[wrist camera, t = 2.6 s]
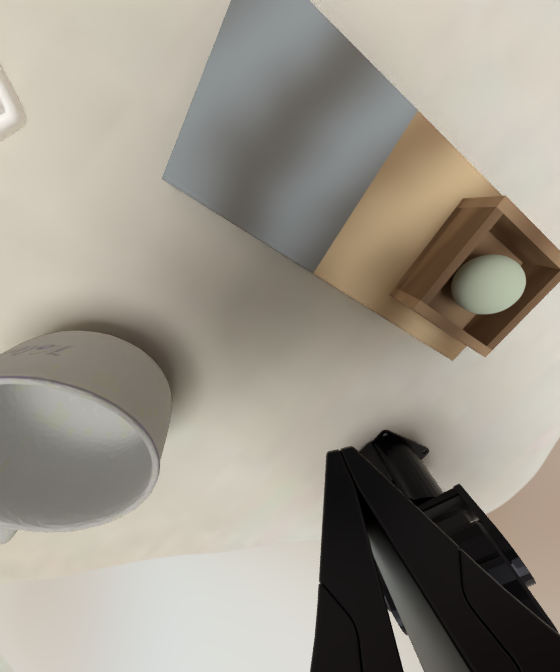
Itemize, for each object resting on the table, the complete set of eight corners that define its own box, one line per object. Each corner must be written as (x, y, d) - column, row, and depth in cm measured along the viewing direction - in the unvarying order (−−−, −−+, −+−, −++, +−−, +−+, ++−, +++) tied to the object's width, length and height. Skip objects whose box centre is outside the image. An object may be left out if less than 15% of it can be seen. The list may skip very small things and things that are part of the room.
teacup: (93, 280, 17) (-22, 330, 10) (215, 382, 21) (199, 471, 14) (-27, 402, 20) (-188, 513, 12) (103, 471, 24) (40, 584, 17)
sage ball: (500, 268, 18) (557, 281, 15) (461, 312, 19) (505, 333, 16) (467, 239, 17) (519, 246, 14) (427, 288, 18) (467, 304, 15)
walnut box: (526, 258, 18) (574, 266, 16) (454, 338, 21) (485, 357, 18) (462, 198, 16) (505, 195, 14) (389, 294, 18) (413, 308, 16)
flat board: (541, 248, 19) (556, 250, 18) (444, 354, 22) (452, 360, 21) (252, -36, 12) (253, -56, 11) (166, 180, 15) (161, 178, 14)
